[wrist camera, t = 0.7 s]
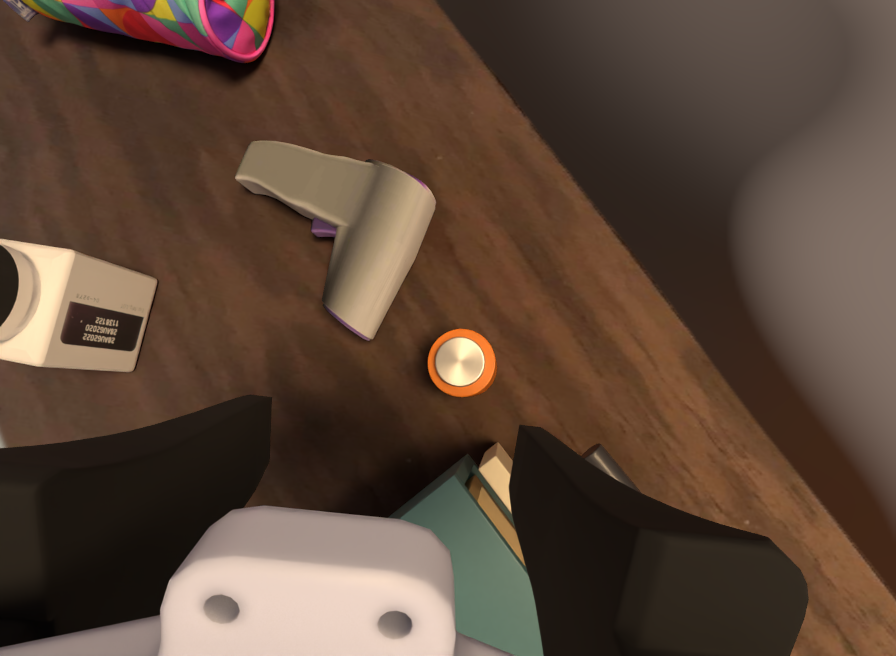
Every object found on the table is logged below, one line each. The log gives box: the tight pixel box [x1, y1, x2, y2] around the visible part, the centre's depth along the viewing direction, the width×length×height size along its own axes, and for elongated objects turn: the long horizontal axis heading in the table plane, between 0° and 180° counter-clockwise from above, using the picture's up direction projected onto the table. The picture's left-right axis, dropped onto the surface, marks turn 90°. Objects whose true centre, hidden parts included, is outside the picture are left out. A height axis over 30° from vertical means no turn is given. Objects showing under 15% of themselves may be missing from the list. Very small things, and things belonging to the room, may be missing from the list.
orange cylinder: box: [428, 329, 497, 397], centre depth 30 cm, size 4×4×6 cm
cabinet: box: [388, 454, 543, 656], centre depth 26 cm, size 14×14×9 cm
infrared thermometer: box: [235, 141, 436, 341], centre depth 33 cm, size 5×12×15 cm
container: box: [0, 239, 157, 372], centre depth 30 cm, size 8×8×13 cm
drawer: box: [465, 442, 641, 567], centre depth 26 cm, size 17×12×7 cm
